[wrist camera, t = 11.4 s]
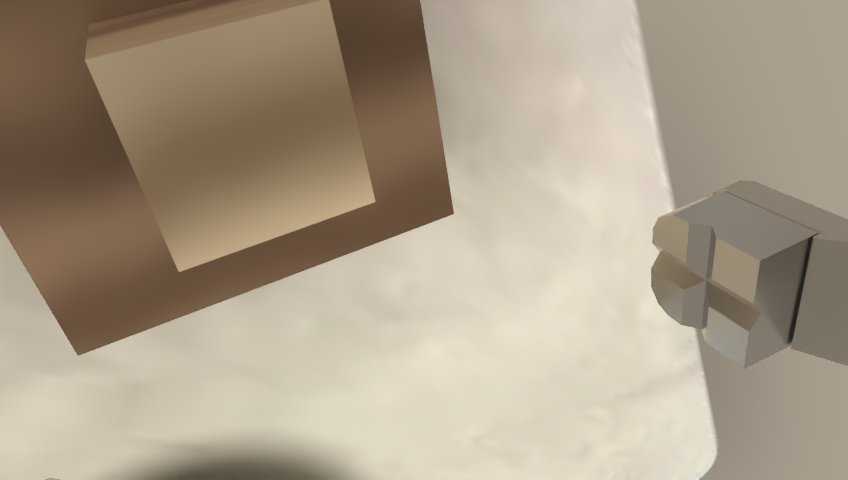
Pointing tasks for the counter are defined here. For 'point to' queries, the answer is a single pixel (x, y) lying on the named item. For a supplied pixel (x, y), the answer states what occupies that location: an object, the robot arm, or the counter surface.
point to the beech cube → (232, 119)
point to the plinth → (124, 198)
